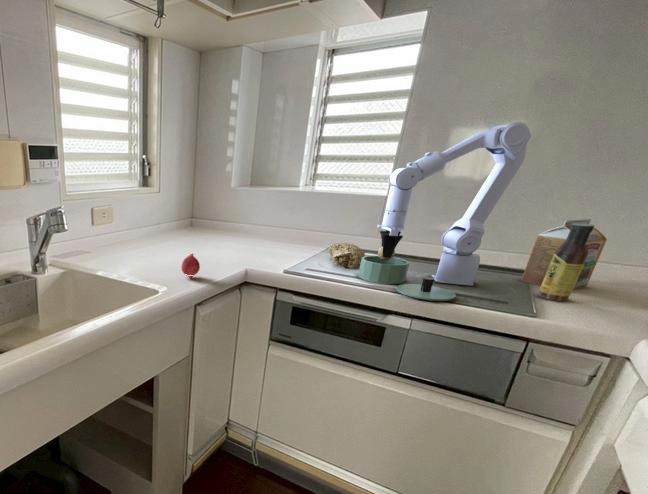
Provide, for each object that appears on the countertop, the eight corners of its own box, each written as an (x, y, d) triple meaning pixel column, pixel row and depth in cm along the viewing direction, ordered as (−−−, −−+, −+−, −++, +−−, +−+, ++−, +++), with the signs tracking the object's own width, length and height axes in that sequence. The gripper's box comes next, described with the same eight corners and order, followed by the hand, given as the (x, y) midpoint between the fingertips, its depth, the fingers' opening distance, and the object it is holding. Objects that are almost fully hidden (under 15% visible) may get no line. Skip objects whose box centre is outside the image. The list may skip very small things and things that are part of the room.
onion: (184, 280, 126) (185, 255, 123) (178, 276, 132) (179, 252, 129) (201, 279, 128) (203, 254, 125) (195, 274, 133) (196, 250, 130)
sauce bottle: (536, 293, 113) (564, 221, 106) (567, 297, 110) (598, 223, 102) (537, 299, 109) (566, 224, 101) (569, 304, 105) (602, 226, 97)
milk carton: (561, 290, 116) (589, 223, 108) (521, 280, 125) (543, 218, 118) (586, 287, 118) (614, 221, 111) (544, 277, 128) (568, 216, 120)
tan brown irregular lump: (362, 273, 138) (368, 251, 152) (361, 252, 135) (368, 231, 149) (321, 275, 146) (331, 253, 160) (320, 255, 142) (329, 234, 156)
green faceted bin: (401, 275, 131) (406, 257, 129) (406, 286, 120) (411, 266, 118) (357, 271, 136) (361, 254, 134) (358, 281, 125) (362, 262, 123)
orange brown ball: (392, 259, 127) (395, 244, 125) (393, 262, 123) (397, 247, 121) (376, 258, 129) (379, 243, 127) (376, 261, 125) (380, 246, 123)
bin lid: (448, 290, 116) (453, 275, 114) (460, 305, 104) (465, 288, 102) (393, 285, 121) (397, 270, 119) (398, 298, 109) (402, 282, 108)
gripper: (379, 207, 128) (370, 250, 133) (382, 212, 116) (372, 259, 121) (404, 208, 125) (394, 251, 130) (411, 214, 113) (399, 261, 118)
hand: (385, 255), depth 125 cm, fingers closed on orange brown ball, 4 cm apart
